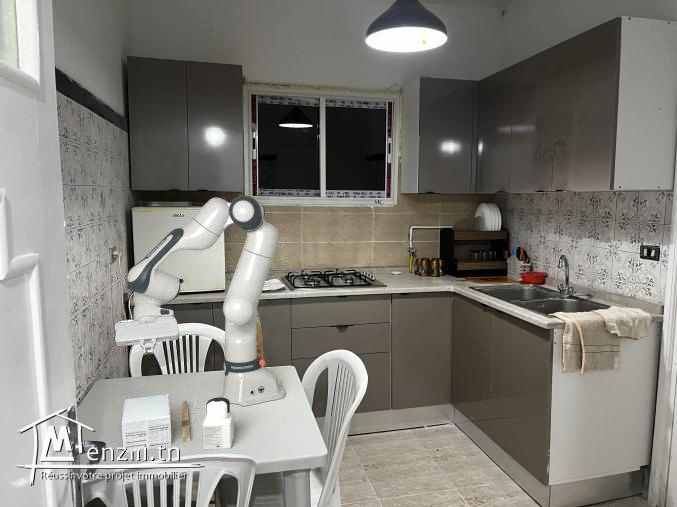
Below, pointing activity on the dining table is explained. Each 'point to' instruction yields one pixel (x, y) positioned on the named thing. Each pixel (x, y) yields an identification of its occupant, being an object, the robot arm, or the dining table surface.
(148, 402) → the supplement box
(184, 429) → the guide rail
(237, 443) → the dining table surface
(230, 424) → the container
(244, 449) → the dining table surface
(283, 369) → the dining table surface
